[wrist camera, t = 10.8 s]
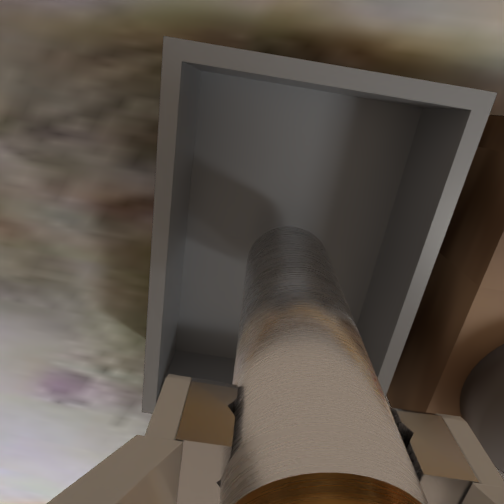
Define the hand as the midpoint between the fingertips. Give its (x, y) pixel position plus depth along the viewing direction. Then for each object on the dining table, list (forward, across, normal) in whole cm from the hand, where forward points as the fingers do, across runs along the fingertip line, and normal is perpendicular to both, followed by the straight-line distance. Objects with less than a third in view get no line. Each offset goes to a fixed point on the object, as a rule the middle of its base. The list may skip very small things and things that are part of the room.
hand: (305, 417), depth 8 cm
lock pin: (+8, 0, 0) cm, 8 cm away
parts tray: (+11, 0, 0) cm, 11 cm away
